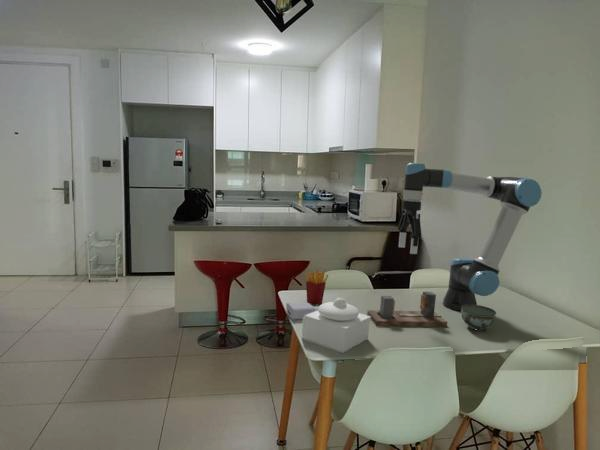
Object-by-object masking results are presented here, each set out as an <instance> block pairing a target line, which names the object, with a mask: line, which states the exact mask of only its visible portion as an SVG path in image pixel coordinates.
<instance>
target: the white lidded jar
mask: <svg viewBox="0 0 600 450" xmlns="http://www.w3.org/2000/svg"><path fill="white" fill-rule="evenodd" d="M318 307H319V308H318V311H315V312H312V313H310V314H307V315H305V317H303V319H302V328H301V329H302V330H301V340H304V341H306V342H307V341H308V342H310V343H312V344H316V345H319V346H321V347H324V348H327V349H329V350H332V349H333V351H335V350H336V352H338V353H341V354H343V353H345V352H348V351H349V350H350V349H353V348H355V347H357V346H358V345H360V344H362V343H363V341H364V342H366V341H367V340H369V330H370V321H371V316H368V315H366V314H365V313H364V314H363V313H360V311H359V309H358V308H357V307H356V306H354V305H352V304H349V303H347V301H346V300H345V299H344V298H342V297H337V298H336V299H334V300H333V301H329V302H324V303H321V304H319V306H318ZM365 340H366V341H365ZM361 342H362V343H361ZM356 345H357V346H356ZM354 346H355V347H354ZM352 347H353V348H352Z"/></svg>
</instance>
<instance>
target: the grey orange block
mask: <svg viewBox="0 0 600 450" xmlns="http://www.w3.org/2000/svg"><path fill="white" fill-rule="evenodd" d="M380 297H381V298H380V309H379V311H380V317H381V318H382V319H392V315H394V311H395V307H396V300H395V298H394V297H392V296H391V295H381V296H380Z"/></svg>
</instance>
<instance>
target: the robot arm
mask: <svg viewBox="0 0 600 450" xmlns="http://www.w3.org/2000/svg"><path fill="white" fill-rule="evenodd" d="M404 175H405V176H404V187H403V195H402V199H403V201H402V207H401V208H402V213H401V217H400V219H399V222H398V223H399V224H398V227H397V230H398V231H399V236H398V248H404V249H405V248H406V240H407V232H408V230H407V229H408V228H409V226H410V229H411V230H410V231H411V234H412V235H411V237H410V238H411V239H410V250H409V254H410V255H418V247H419V239H421V238H422V228H421V213H418V211H419V212H420V211H421V209H422V202H421V201H422V199H423V194H424V193H423V191H424V188H439V189H445V190H453V191H457V192H464V193H471V194H478V195H483V197H484V198H489V199H493V200H496V201H499V202H500V205H501V209H500V211H499V213H498V214H497V215H498V216H497V217H496V220H495V222H494V224H493V226H492V228H491V230H490V232H489V234H488V236H487V239H486V241H485V243H484V245H483V248H482V249H481V251H480V253H479V255H478V257H476V258H465V257H464V258H459V257H458V258H457V257H454V258H452V260H451V262H450V265H449V266H450V269H449V270H450V271H449V278H448V279H449V280H448V288H447V291H446V293H445V295H444V297H443V299H442V300H443V301H442V305H443V306H444V307H446V308H448V309H450V310H455V311H458V310H459V311H458V312H461V306H463V305H467V304H471V305H478V303H477V300H476V299H477V297H476V295H478V296H481V297H487V296H491V295H492V294H494V293H495V292H496V291H497V290H498V289H499V286H500V278H499V276H498V275H499V273H500V271H501V270H500V267H499V264H500V262H501V260H502V259H503V257H504V254H505V252H506V250H507V247H508V246H509V243H510V241H511V239H512V237H513V235H514V233H515V231H516V229H517V227H518V225H519V223H520V221H521V218H522V217H523V216H524V215H525V214H528V213H529V211H530V207H534V206H535V205H537V204H538V203H539V202H540V201H541V198H542V195H543V194H542V193H543V192H542V189H541V186H540V184H539V183H538V182H537V181H536V180H535V179H534V178H533V179H532V178H528V177H517V176H516V177H515V176H500V177H499V176H491V175H490V176H487V177H483V176H476V175H475V176H474V175H470V174H469V175H468V174H463V173H457V172H456V173H455V172H452V171H450V170H449V169H437V168H436V169H435V168H426V164H425V163H416V162H409V163H407V164H406V168H405V173H404Z"/></svg>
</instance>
